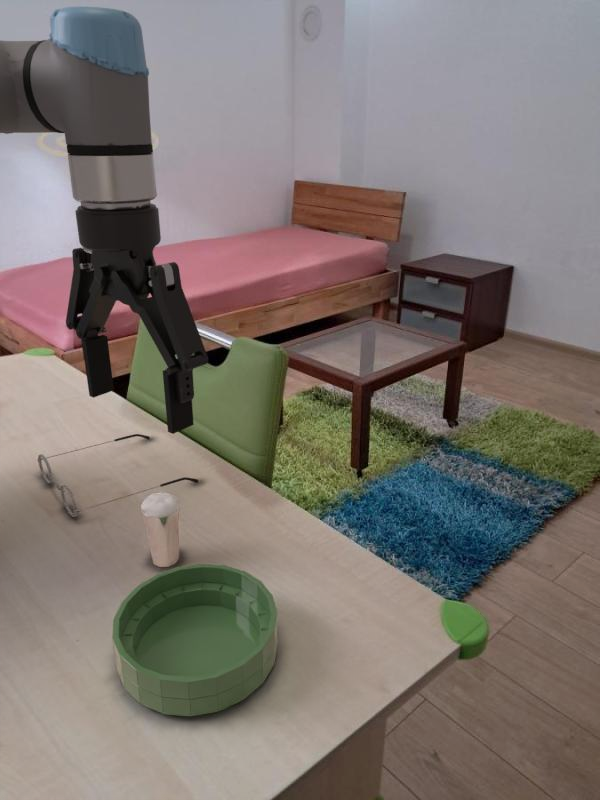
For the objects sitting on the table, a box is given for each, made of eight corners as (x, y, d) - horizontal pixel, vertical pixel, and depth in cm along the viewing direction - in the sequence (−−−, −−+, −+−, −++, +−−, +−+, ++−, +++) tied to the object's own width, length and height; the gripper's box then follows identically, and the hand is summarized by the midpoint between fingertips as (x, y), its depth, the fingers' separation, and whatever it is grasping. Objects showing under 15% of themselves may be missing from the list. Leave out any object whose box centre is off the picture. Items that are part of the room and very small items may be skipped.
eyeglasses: (36, 471, 99) (33, 448, 97) (149, 441, 109) (147, 420, 108) (75, 526, 86) (72, 501, 84) (199, 486, 96) (198, 463, 95)
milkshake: (134, 560, 79) (126, 492, 75) (172, 543, 82) (166, 477, 78) (152, 579, 76) (144, 509, 72) (190, 561, 79) (185, 493, 75)
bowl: (83, 685, 62) (76, 647, 60) (176, 583, 75) (173, 549, 73) (229, 745, 56) (226, 705, 54) (300, 623, 70) (301, 587, 68)
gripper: (240, 211, 54) (247, 431, 63) (77, 190, 69) (101, 371, 77) (172, 221, 49) (190, 460, 58) (10, 196, 63) (44, 390, 72)
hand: (139, 410), depth 68 cm, fingers open, 13 cm apart
